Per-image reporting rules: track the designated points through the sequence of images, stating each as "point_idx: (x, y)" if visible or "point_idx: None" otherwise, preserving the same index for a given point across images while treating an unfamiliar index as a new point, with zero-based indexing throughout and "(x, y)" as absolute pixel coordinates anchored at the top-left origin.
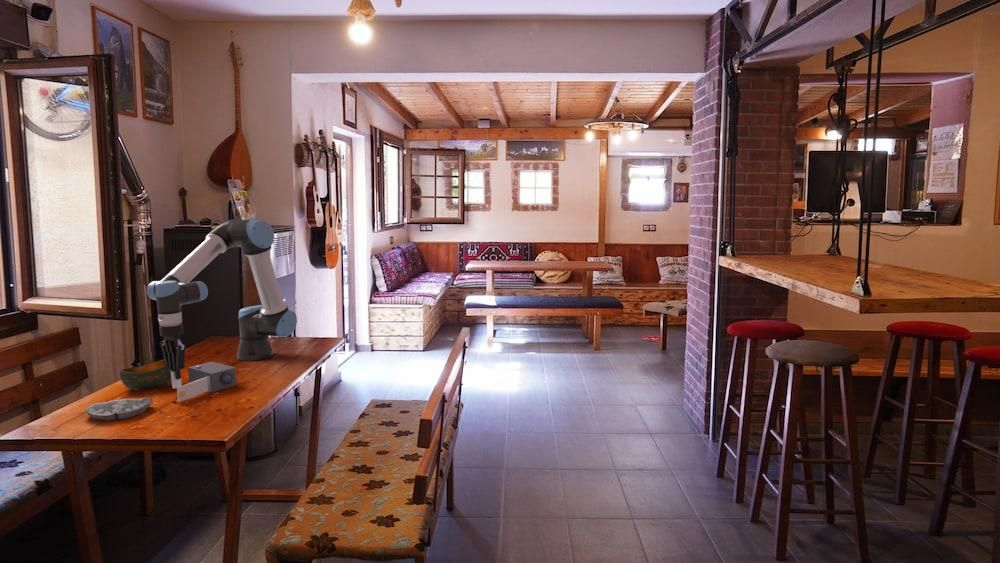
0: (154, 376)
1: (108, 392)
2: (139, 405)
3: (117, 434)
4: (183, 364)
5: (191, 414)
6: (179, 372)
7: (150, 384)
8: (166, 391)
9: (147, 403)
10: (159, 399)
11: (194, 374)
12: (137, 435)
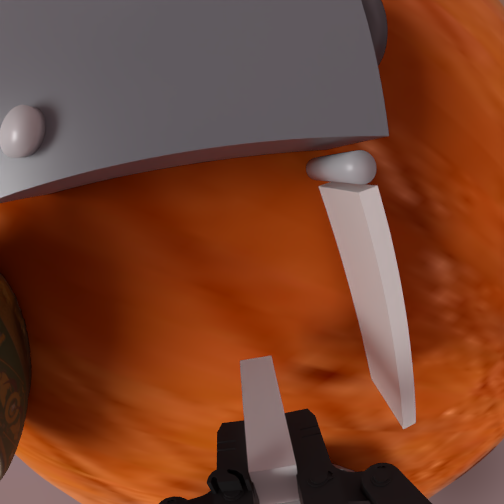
0: (4, 397)
1: None
2: None
3: (427, 491)
4: (418, 497)
5: (496, 355)
6: (327, 457)
7: (24, 386)
8: (91, 338)
9: None
10: (217, 408)
11: (65, 183)
12: (469, 462)
